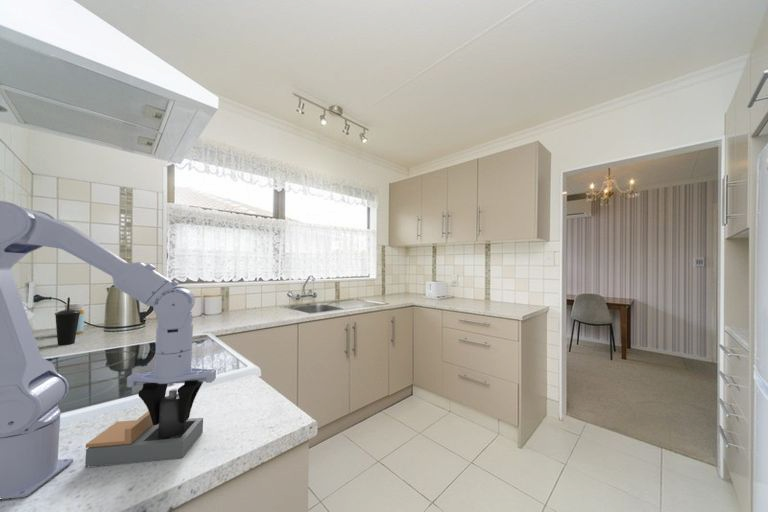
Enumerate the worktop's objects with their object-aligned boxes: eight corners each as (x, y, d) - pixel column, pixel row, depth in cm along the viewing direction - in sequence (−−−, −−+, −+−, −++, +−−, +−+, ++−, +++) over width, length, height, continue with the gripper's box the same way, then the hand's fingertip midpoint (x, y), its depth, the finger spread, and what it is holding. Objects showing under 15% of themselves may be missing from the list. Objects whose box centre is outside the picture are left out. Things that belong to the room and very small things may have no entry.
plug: (153, 440, 52) (155, 396, 52) (164, 428, 56) (166, 387, 56) (178, 437, 53) (179, 394, 53) (187, 425, 57) (189, 385, 57)
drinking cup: (68, 341, 126) (70, 296, 126) (84, 341, 125) (86, 296, 126) (46, 346, 118) (49, 298, 119) (64, 346, 118) (66, 298, 119)
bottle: (84, 331, 144) (85, 302, 145) (81, 334, 139) (83, 303, 139) (63, 333, 140) (65, 303, 140) (60, 336, 134) (62, 304, 135)
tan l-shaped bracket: (85, 447, 49) (86, 432, 49) (117, 424, 56) (117, 411, 56) (130, 443, 50) (131, 428, 50) (155, 421, 57) (156, 408, 57)
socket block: (85, 467, 48) (86, 449, 48) (119, 439, 56) (120, 423, 56) (182, 457, 51) (183, 440, 51) (202, 432, 59) (203, 417, 59)
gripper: (222, 343, 60) (220, 408, 59) (145, 345, 57) (142, 413, 57) (208, 353, 53) (205, 426, 52) (119, 356, 50) (116, 434, 50)
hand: (171, 421), depth 54 cm, fingers closed on plug, 4 cm apart
